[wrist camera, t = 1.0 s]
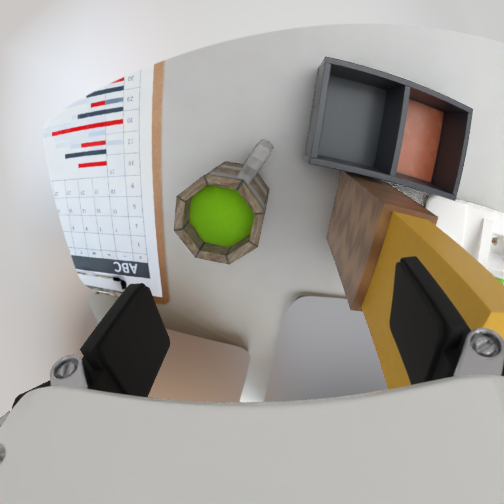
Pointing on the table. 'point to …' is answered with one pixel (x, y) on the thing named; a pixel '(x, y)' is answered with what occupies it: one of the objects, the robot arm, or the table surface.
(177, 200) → the mug
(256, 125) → the table surface
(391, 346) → the yellow box
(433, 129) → the caddy
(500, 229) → the tape dispenser
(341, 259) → the tan rectangular block
